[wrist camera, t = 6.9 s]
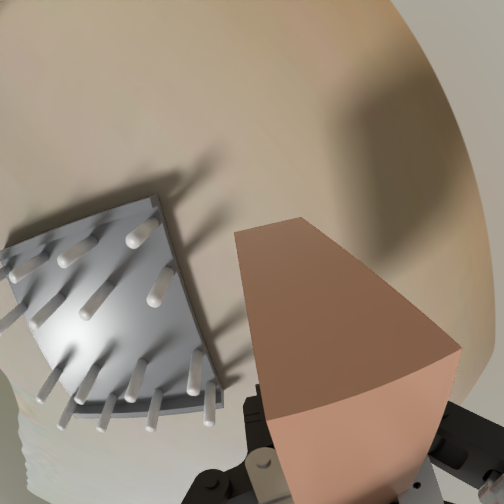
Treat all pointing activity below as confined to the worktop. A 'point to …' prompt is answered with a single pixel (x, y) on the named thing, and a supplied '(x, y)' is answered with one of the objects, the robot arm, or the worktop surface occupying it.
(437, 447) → the robot arm
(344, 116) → the worktop surface
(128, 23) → the worktop surface
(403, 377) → the block
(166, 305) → the rack
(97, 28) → the worktop surface
